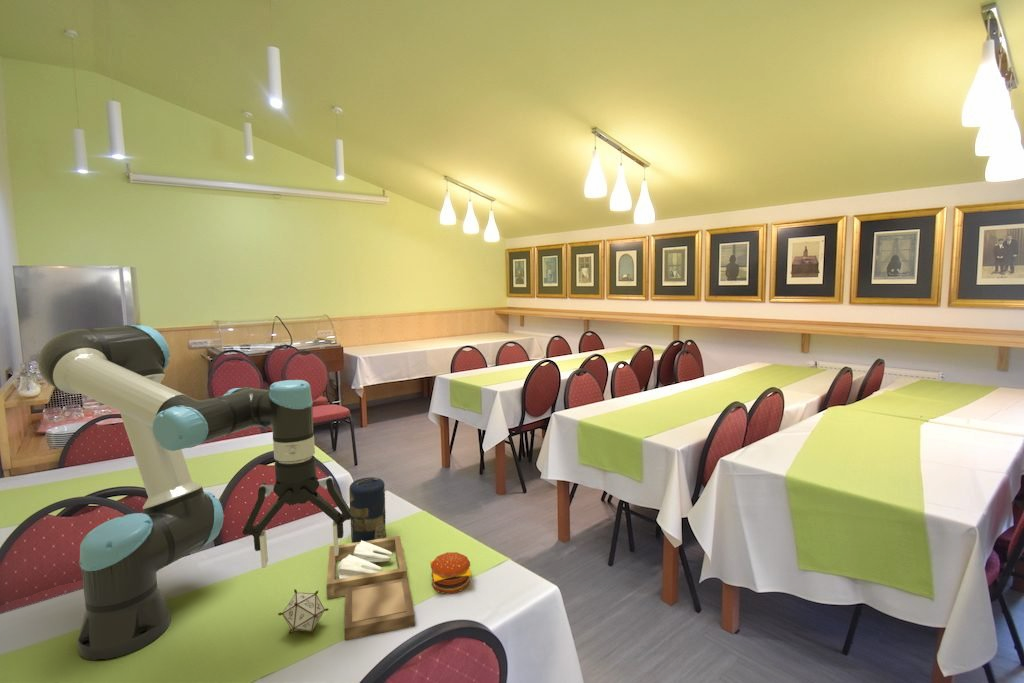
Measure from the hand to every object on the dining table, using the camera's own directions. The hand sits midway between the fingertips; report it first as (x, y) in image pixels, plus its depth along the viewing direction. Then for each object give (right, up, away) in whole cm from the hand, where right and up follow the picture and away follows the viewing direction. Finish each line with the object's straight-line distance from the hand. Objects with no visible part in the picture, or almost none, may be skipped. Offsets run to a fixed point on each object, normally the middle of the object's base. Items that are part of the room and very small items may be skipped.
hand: (301, 558), depth 103 cm
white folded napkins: (+7, -13, +23) cm, 27 cm away
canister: (+3, -12, +38) cm, 40 cm away
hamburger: (+28, -14, +18) cm, 36 cm away
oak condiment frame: (+7, -13, +23) cm, 27 cm away
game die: (0, -16, +2) cm, 16 cm away
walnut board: (+14, -15, +7) cm, 22 cm away
